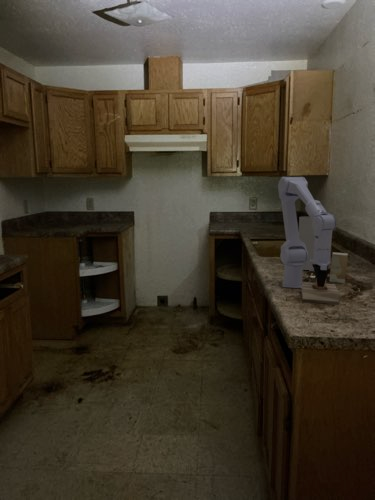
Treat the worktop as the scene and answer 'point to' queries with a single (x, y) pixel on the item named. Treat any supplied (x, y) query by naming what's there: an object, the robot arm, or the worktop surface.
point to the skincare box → (338, 267)
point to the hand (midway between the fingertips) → (319, 285)
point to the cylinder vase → (307, 239)
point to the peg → (320, 287)
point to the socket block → (320, 293)
